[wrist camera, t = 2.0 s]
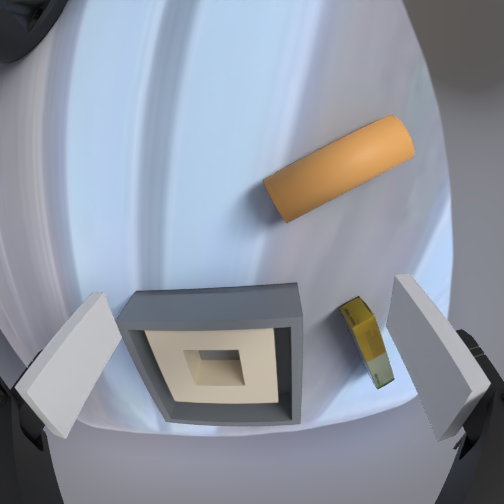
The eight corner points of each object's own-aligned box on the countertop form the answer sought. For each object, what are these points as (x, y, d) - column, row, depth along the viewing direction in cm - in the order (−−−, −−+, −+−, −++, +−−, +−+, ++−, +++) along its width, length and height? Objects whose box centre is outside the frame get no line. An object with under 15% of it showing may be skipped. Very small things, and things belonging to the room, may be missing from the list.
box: (136, 291, 29) (115, 321, 24) (297, 282, 28) (302, 316, 23) (175, 391, 36) (166, 421, 31) (297, 390, 35) (300, 423, 30)
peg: (257, 172, 21) (389, 106, 18) (271, 187, 25) (384, 129, 22) (280, 217, 21) (418, 146, 18) (291, 226, 24) (408, 165, 21)
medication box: (384, 359, 32) (396, 380, 29) (365, 369, 33) (376, 391, 29) (360, 294, 28) (375, 316, 24) (337, 306, 29) (350, 330, 25)
